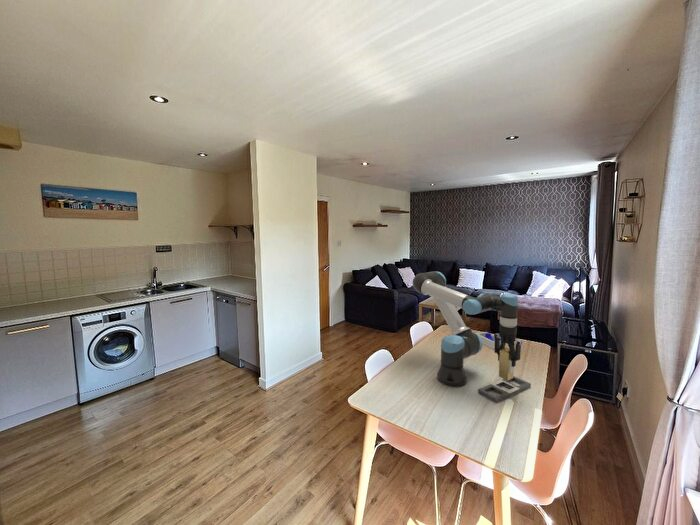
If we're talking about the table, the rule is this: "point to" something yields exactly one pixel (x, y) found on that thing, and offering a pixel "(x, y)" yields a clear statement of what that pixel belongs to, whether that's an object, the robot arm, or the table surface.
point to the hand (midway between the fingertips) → (506, 369)
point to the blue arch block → (489, 336)
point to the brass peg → (505, 364)
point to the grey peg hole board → (502, 392)
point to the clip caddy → (487, 340)
